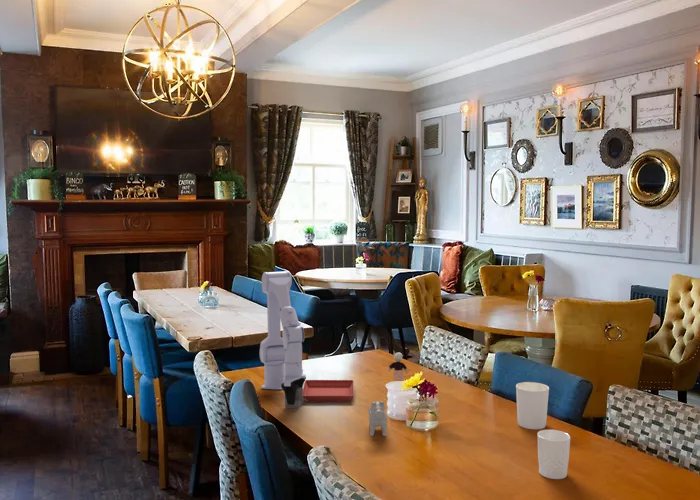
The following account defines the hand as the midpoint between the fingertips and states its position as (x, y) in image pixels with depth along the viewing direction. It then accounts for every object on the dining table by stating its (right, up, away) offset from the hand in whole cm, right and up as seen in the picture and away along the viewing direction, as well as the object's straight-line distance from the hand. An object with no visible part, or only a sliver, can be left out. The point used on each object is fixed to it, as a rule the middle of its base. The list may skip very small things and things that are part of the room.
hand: (294, 401), depth 212 cm
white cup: (+70, -6, -53) cm, 88 cm away
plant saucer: (+11, -1, +12) cm, 16 cm away
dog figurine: (+27, -4, -24) cm, 37 cm away
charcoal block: (0, -2, 0) cm, 2 cm away
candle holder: (+75, -3, -19) cm, 77 cm away
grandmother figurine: (+37, 0, +23) cm, 43 cm away
